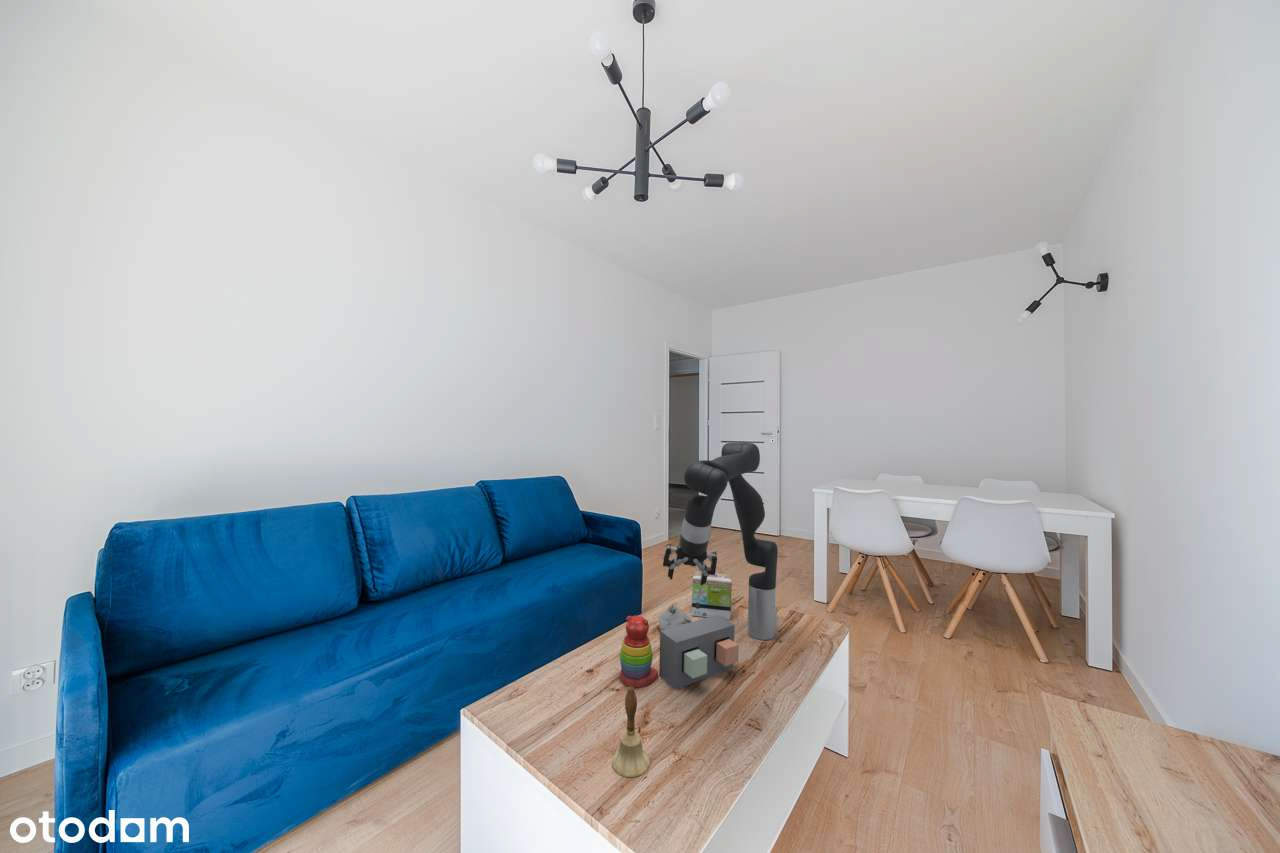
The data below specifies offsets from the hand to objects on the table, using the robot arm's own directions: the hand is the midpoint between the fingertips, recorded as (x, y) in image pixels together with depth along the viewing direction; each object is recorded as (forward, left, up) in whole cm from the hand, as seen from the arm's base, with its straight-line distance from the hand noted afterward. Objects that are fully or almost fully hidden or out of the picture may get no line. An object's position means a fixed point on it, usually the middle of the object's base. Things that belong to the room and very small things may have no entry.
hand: (686, 580), depth 120 cm
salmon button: (-15, +1, -26) cm, 30 cm away
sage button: (-3, +1, -26) cm, 26 cm away
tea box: (-40, -34, -30) cm, 60 cm away
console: (-9, -5, -30) cm, 32 cm away
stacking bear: (+9, -11, -30) cm, 34 cm away
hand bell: (+26, +15, -30) cm, 43 cm away
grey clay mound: (-19, -30, -30) cm, 47 cm away
